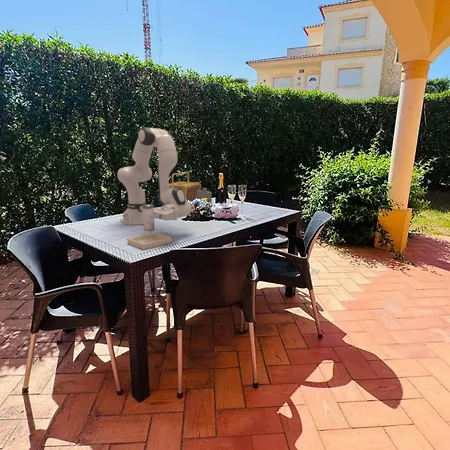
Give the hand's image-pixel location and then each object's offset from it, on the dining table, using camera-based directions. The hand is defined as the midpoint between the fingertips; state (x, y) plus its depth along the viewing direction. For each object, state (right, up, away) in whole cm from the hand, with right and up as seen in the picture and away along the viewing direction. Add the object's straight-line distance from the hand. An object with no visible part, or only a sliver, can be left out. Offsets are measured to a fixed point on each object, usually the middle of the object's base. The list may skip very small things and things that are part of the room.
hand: (147, 216), depth 167 cm
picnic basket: (+3, +12, +110) cm, 110 cm away
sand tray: (0, -15, +5) cm, 16 cm away
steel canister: (+1, -8, +3) cm, 8 cm away
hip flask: (+26, +5, +83) cm, 87 cm away
